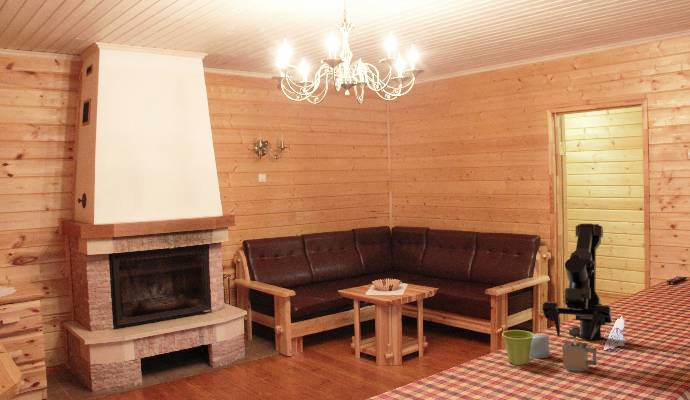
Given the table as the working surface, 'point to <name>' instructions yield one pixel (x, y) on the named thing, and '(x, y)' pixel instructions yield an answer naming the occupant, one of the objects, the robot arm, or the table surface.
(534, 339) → the grey rounded cylinder
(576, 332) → the plunger
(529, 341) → the plant pot
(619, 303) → the table surface
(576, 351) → the press carafe
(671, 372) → the table surface
